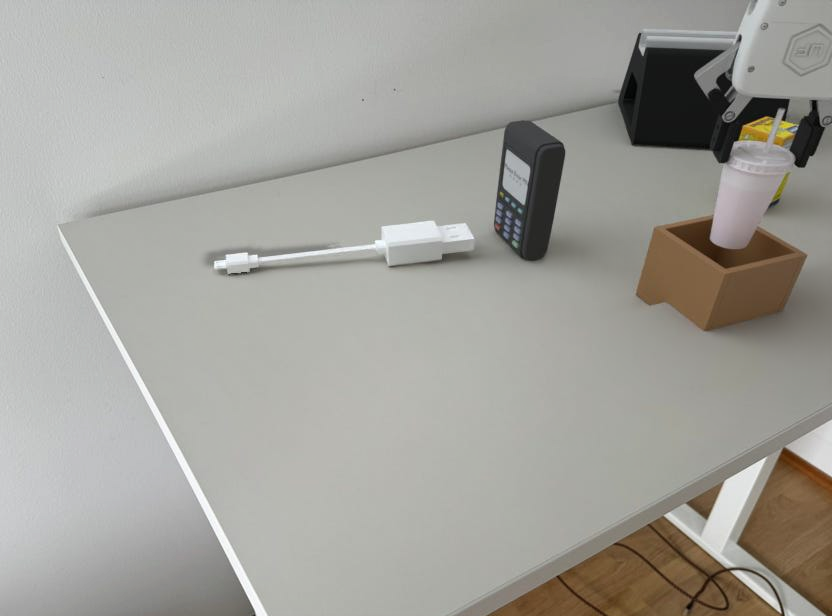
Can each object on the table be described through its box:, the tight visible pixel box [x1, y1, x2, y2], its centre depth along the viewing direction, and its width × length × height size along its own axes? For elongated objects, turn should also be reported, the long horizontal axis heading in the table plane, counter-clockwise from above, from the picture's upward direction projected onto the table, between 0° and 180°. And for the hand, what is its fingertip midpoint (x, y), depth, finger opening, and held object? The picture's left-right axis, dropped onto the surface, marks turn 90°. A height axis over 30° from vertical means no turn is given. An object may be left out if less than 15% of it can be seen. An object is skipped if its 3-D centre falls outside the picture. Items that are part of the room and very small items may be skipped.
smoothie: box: [710, 108, 796, 249], centre depth 71 cm, size 6×6×14 cm
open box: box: [635, 214, 808, 332], centre depth 78 cm, size 11×11×9 cm
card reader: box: [493, 119, 566, 261], centre depth 88 cm, size 9×4×15 cm, turn 18°
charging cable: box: [213, 220, 475, 275], centre depth 89 cm, size 5×32×3 cm, turn 98°
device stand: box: [617, 28, 791, 150], centre depth 120 cm, size 22×22×15 cm
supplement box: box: [738, 117, 799, 209], centre depth 98 cm, size 6×6×11 cm
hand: (757, 158), depth 69 cm, fingers closed on smoothie, 6 cm apart
